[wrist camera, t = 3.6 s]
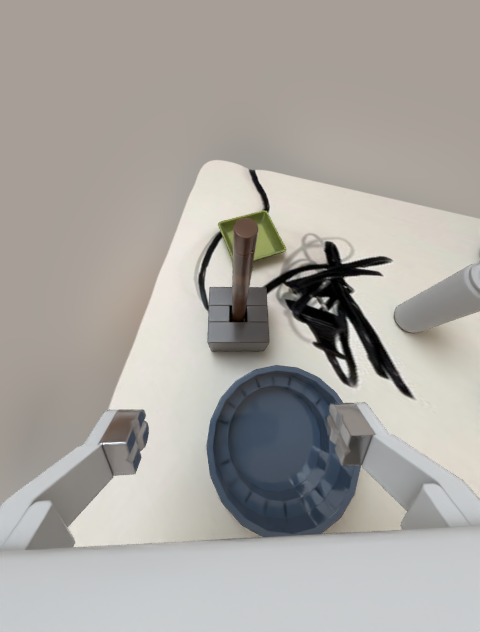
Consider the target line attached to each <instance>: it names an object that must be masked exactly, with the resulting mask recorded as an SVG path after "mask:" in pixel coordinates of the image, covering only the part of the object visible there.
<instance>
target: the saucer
mask: <svg viewBox="0 0 480 632" xmlns="http://www.w3.org/2000/svg"><path fill="white" fill-rule="evenodd" d="M242 218H249V219H252V220H254V221H255V222H256V223H257V225H258V228H259V230H258V236H257V243H256V249H255V255H254V261H255V260H259V259H262V258H265V257H269V256H272V255H275V254H279V253H282V252H284V251H286V247H285V245H284V243H283V241H282V239H281V238H280V236H279V234H278V232H277V230H276V228H275V226H274V224H273V222H272V220H271V218H270V216H269V214H268V213H267V211H260V212H256V213H252V214H248V215H244V216H241V217H236V218H233V219H229V220H225V221H221V222H219V223H218V226H219V229H220V231H221V233H222V236H223V238H224V241H225V243H226V245H227V248H228V250H229V253H230V255H231V257H232V260H233V226H234V224H235V222H236V221H237V220H239V219H242Z"/></svg>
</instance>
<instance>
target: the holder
mask: <svg viewBox="0 0 480 632" xmlns="http://www.w3.org/2000/svg"><path fill="white" fill-rule="evenodd" d="M230 319H232V287H210V292H209V317H208V345H209V347H210V350H211V351H264V350H265V348H266V347H267V345H268V344H269V327H268V309H267V291H266V288H261V287H249V291H248V298H247V304H246V310H245V316H244V319H245V322H230Z"/></svg>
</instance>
